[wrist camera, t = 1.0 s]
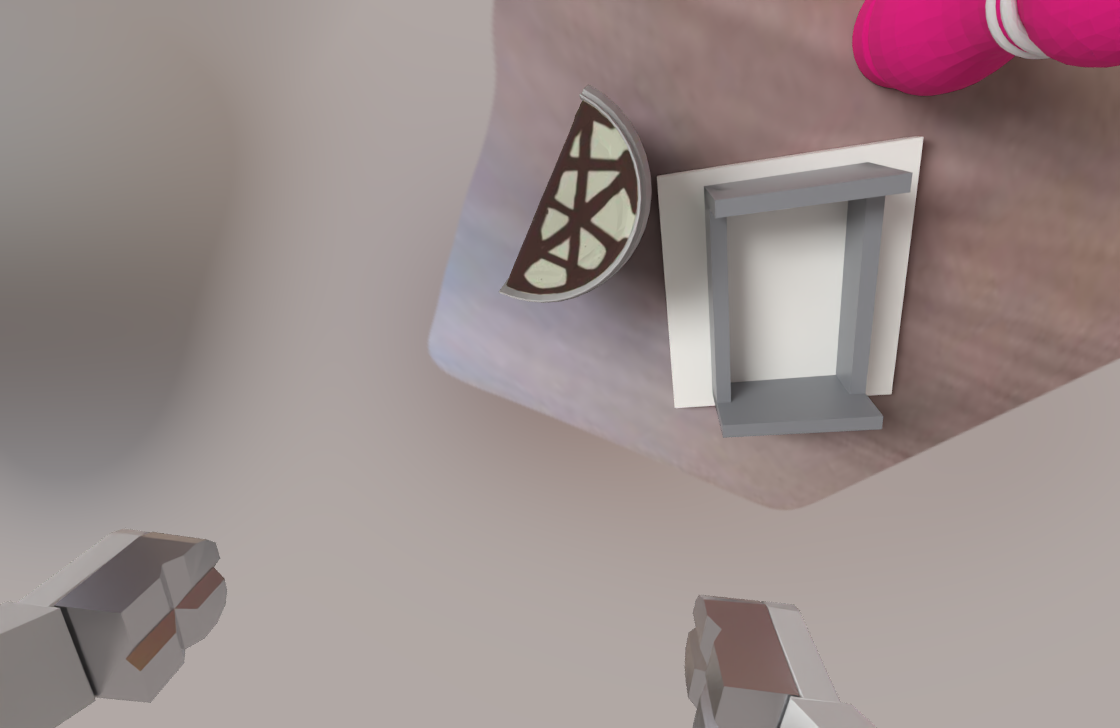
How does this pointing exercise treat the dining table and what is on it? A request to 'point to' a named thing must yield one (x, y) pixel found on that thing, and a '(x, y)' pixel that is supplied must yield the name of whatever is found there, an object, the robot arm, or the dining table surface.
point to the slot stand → (789, 285)
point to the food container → (586, 208)
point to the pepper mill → (978, 39)
